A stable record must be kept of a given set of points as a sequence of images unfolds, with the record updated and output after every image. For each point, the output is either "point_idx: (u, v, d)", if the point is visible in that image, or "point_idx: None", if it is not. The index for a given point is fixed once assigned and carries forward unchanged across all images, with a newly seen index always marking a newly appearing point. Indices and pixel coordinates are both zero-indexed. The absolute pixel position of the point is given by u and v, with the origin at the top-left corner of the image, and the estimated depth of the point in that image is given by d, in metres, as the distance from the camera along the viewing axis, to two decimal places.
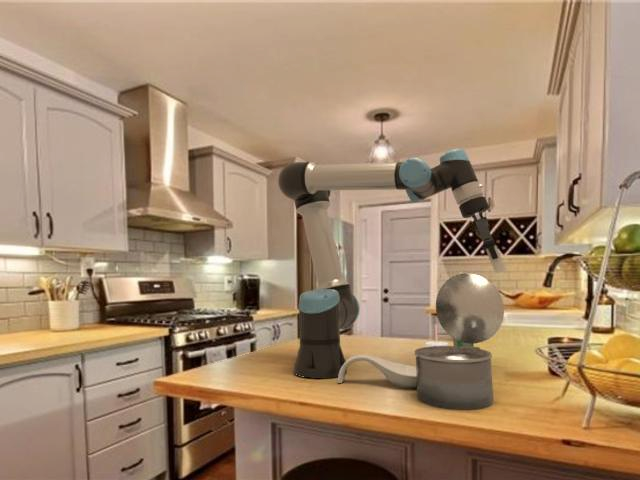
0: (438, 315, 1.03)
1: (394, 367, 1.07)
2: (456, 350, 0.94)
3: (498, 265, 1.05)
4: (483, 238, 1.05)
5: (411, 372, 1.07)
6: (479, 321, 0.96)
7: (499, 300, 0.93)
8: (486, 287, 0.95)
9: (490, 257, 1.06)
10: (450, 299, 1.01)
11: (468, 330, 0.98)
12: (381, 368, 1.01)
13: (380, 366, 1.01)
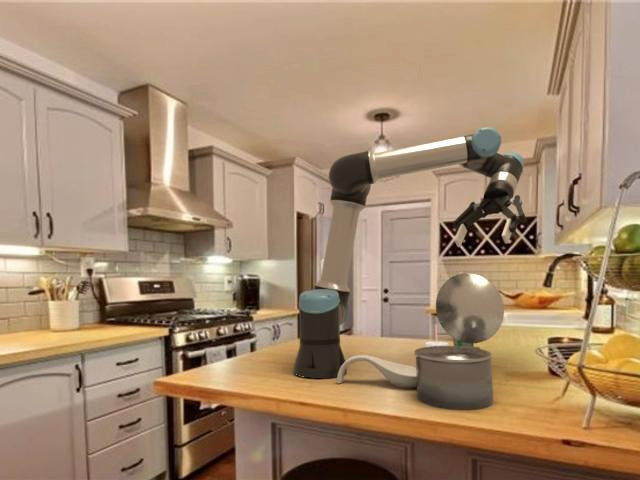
0: (438, 315, 1.03)
1: (393, 367, 1.07)
2: (456, 350, 0.94)
3: (507, 235, 1.02)
4: (523, 212, 1.05)
5: (410, 373, 1.07)
6: (479, 321, 0.96)
7: (499, 300, 0.93)
8: (486, 287, 0.95)
9: (509, 225, 1.03)
10: (450, 299, 1.01)
11: (468, 330, 0.98)
12: (380, 368, 1.01)
13: (379, 366, 1.01)
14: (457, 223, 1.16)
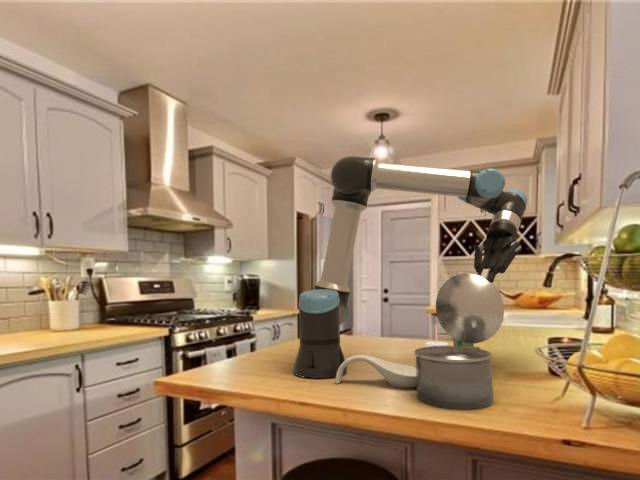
0: (438, 315, 1.03)
1: (392, 367, 1.07)
2: (456, 350, 0.94)
3: None
4: (504, 263, 1.06)
5: (409, 372, 1.07)
6: (479, 321, 0.96)
7: (499, 300, 0.93)
8: (486, 287, 0.95)
9: (486, 276, 1.06)
10: (450, 299, 1.01)
11: (468, 330, 0.98)
12: (379, 368, 1.01)
13: (378, 366, 1.01)
14: (479, 266, 1.10)
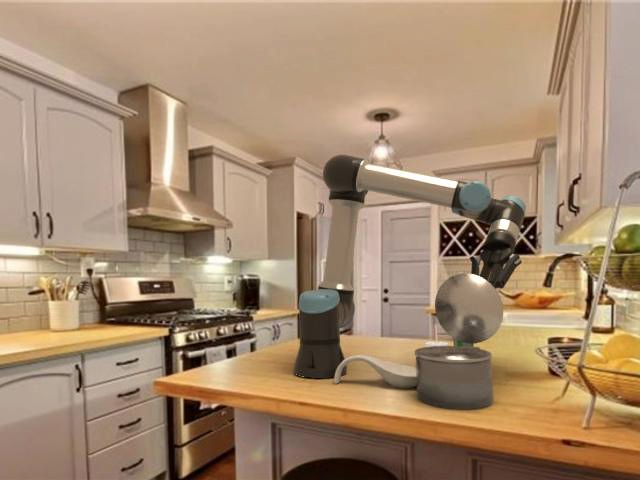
0: (438, 315, 1.03)
1: (390, 367, 1.07)
2: (456, 350, 0.94)
3: None
4: (503, 278, 1.00)
5: (407, 373, 1.07)
6: (478, 321, 0.96)
7: (498, 300, 0.93)
8: (485, 287, 0.95)
9: None
10: (449, 299, 1.01)
11: (468, 330, 0.97)
12: (377, 368, 1.01)
13: (376, 366, 1.01)
14: None
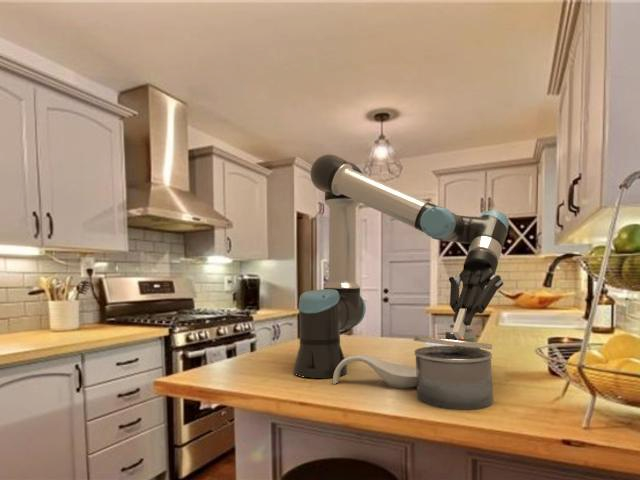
0: None
1: (389, 367, 1.07)
2: (456, 350, 0.94)
3: (461, 330, 0.90)
4: (482, 302, 0.92)
5: (406, 373, 1.07)
6: None
7: None
8: None
9: (463, 318, 0.91)
10: None
11: None
12: (376, 368, 1.01)
13: (375, 366, 1.01)
14: (455, 304, 0.96)
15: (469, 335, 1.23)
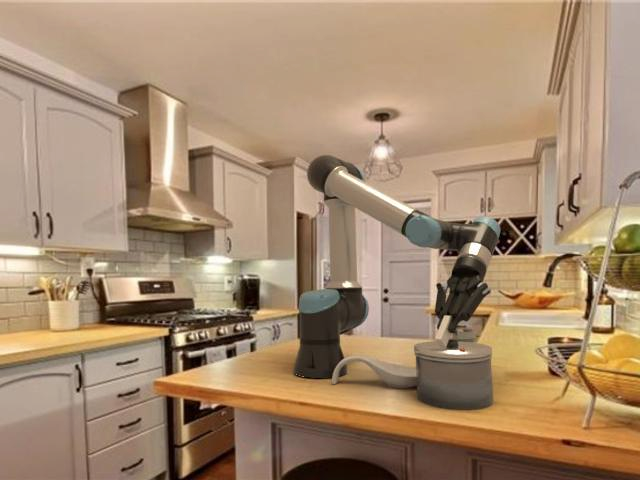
0: None
1: (388, 367, 1.07)
2: None
3: (445, 337, 0.89)
4: (468, 310, 0.90)
5: (405, 373, 1.07)
6: None
7: None
8: None
9: (447, 325, 0.90)
10: None
11: None
12: (375, 368, 1.01)
13: (374, 366, 1.01)
14: (440, 311, 0.94)
15: (469, 335, 1.23)
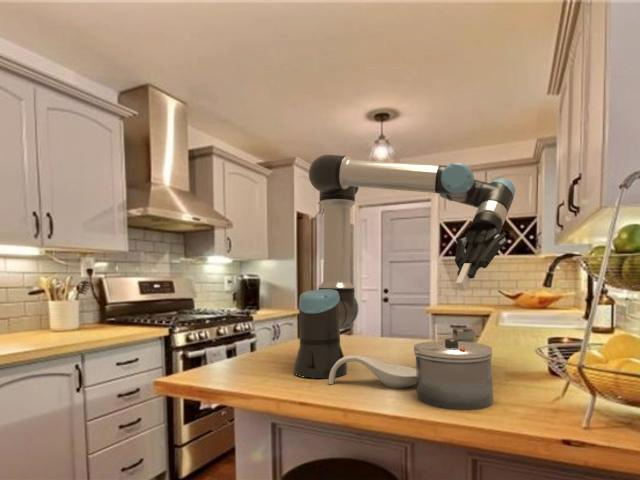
0: None
1: (385, 367, 1.07)
2: None
3: (465, 282, 0.97)
4: (486, 257, 0.98)
5: (402, 372, 1.07)
6: None
7: None
8: None
9: (467, 271, 0.98)
10: None
11: None
12: (372, 368, 1.01)
13: (371, 366, 1.01)
14: (460, 260, 1.02)
15: (469, 335, 1.23)
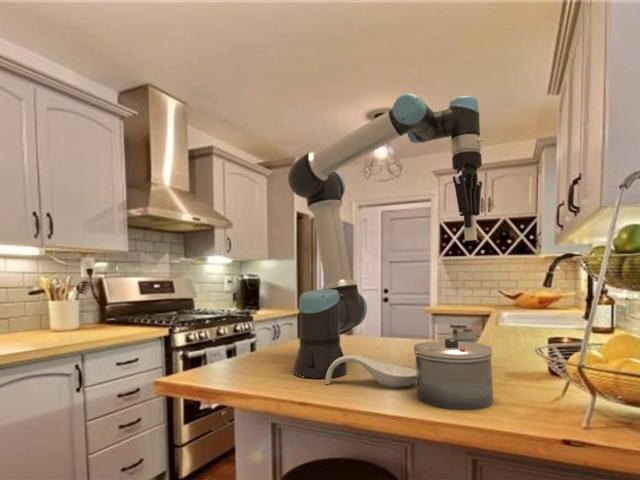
0: None
1: (381, 367, 1.08)
2: None
3: (469, 234, 1.09)
4: (459, 206, 1.08)
5: (398, 372, 1.07)
6: None
7: None
8: None
9: None
10: None
11: None
12: (369, 368, 1.01)
13: (368, 366, 1.01)
14: None
15: (469, 335, 1.23)
